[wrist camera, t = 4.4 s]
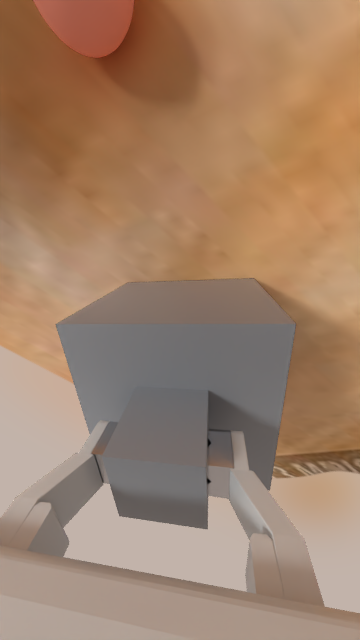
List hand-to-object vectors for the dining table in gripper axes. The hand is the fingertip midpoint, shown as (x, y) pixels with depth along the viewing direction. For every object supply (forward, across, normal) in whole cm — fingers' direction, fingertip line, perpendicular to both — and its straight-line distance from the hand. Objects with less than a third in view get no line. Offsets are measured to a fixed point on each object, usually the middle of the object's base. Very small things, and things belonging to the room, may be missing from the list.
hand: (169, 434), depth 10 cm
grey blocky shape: (+10, 0, 0) cm, 10 cm away
